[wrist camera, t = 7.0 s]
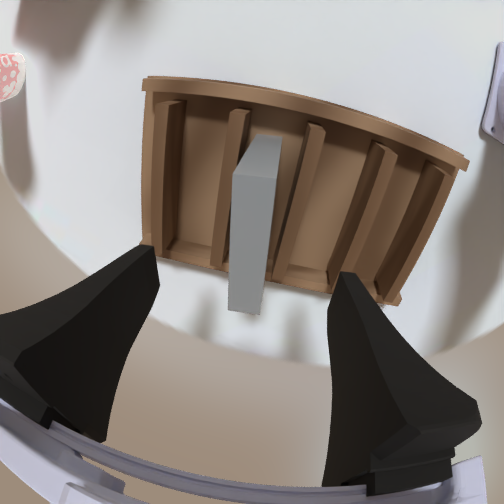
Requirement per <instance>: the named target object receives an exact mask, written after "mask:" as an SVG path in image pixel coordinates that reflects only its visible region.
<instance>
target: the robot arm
mask: <svg viewBox="0 0 504 504" xmlns="http://www.w3.org/2000/svg"><path fill="white" fill-rule="evenodd" d="M492 127H493V131H492V132H491V128H492ZM482 129H483V130H484V131H485V132H486V133H487V134H489V135H491V136H492V137H494V138H495V139H497V140H498V141H499V142H501V143H502V144H504V42H499V44H498V50H497V57H496V64H495V70H494V75H493V80H492V85H491V90H490V95H489V99H488V103H487V107H486V111H485V115H484V119H483V122H482ZM159 287H160V282H159V276H158V270H157V263H156V256H155V249H154V246H151V245H144V244H140V245H138V246H136V247H134V248H133V249H131V250H130V251H128V252H126V253H125V254H123V255H122V256H120V257H119V258H117V259H116V260H114V261H113V262H111V263H110V264H108V265H107V266H105V267H104V268H102V269H100V270H99V271H97V272H96V273H94V274H92V275H91V276H89V277H88V278H86V279H84V280H83V281H81V282H79V283H78V284H76V285H74V286H72V287H70V288H68V289H66V290H65V291H63V292H61V293H59V294H57V295H54V296H52V297H50V298H48V299H45V300H43V301H41V302H38V303H36V304H33V305H31V306H28V307H25V308H22V309H19V310H16V311H13V312H9V313H5V314H1V315H0V460H1V461H2V462H3V463H4V464H5V465H6V466H7V467H8V468H9V469H10V470H11V471H12V472H13V473H14V474H16V475H17V476H18V477H19V478H20V479H21V480H22V481H24V482H25V483H26V484H27V485H28V486H30V487H31V488H32V489H33V490H35V491H36V492H37V493H38V494H40V495H41V496H42V497H44V498H45V499H46V500H48V501H49V502H50V504H149V503H146V502H143V501H140V500H137V499H135V498H132V497H129V496H127V495H124V494H123V490H124V487H125V482H124V481H122V480H120V479H118V478H116V477H114V476H112V475H110V474H108V473H107V472H105V471H104V470H102V469H100V468H98V467H96V466H94V465H92V464H90V463H88V462H86V461H84V460H83V458H82V456H81V455H83V456H85V457H87V458H89V459H91V460H93V461H96V462H98V463H100V464H102V465H104V466H107V467H109V468H112V469H114V470H116V471H119V472H122V473H124V474H127V475H130V476H132V477H135V478H138V479H141V480H144V481H147V482H150V483H153V484H156V485H160V486H163V487H167V488H170V489H174V490H178V491H181V492H186V493H190V494H194V495H198V496H203V497H208V498H214V499H219V500H225V501H231V502H238V503H246V504H487V496H486V485H485V476H484V469H483V462H482V456H476V457H473V458H470V459H467V460H464V461H461V462H458V463H456V464H453V465H451V458H453V457H455V449H454V447H456V446H457V445H459V444H460V443H462V442H463V441H465V440H466V439H468V438H469V437H471V436H472V435H473V434H474V433H476V432H477V431H478V430H479V428H480V427H481V424H482V421H481V417H480V413H479V409H478V405H477V401H476V400H475V399H473V398H472V397H470V396H469V395H467V394H466V393H465V392H463V391H462V390H460V389H459V388H456V386H454V385H453V384H452V383H451V382H449V381H448V380H447V379H445V378H444V377H443V376H442V375H441V374H439V373H438V372H437V371H436V370H435V369H434V368H433V367H431V366H430V365H429V364H428V363H427V362H426V361H425V360H424V359H423V358H422V357H421V356H420V355H419V354H418V353H417V352H416V351H415V350H414V349H413V348H412V347H411V346H410V345H409V343H408V342H407V341H406V340H405V339H404V338H403V337H402V336H401V334H400V333H399V332H398V331H397V330H396V328H395V327H394V326H393V325H392V323H391V322H390V321H389V319H388V318H387V317H386V316H385V314H384V313H383V311H382V310H381V309H380V307H379V306H378V305H377V303H376V302H375V300H374V299H373V298H372V296H371V295H370V293H369V292H368V290H367V289H366V287H365V286H364V284H363V283H362V282H361V280H360V279H359V277H358V276H357V275H356V273H352V272H344V271H340V273H339V276H338V279H337V283H336V286H335V289H334V292H333V295H332V298H331V301H330V304H329V306H328V309H327V336H328V346H329V355H330V365H331V376H332V412H331V425H330V436H329V444H328V452H327V459H326V465H325V470H324V476H323V481H322V487H288V486H287V487H286V486H271V485H261V484H252V483H243V482H236V481H230V480H224V479H218V478H212V477H207V476H202V475H198V474H193V473H189V472H185V471H181V470H177V469H173V468H169V467H166V466H162V465H159V464H155V463H152V462H149V461H146V460H143V459H140V458H137V457H134V456H131V455H129V454H126V453H123V452H120V451H117V450H115V449H113V448H110V447H108V446H105V445H103V444H101V443H102V442H104V441H105V440H106V437H107V429H108V424H109V419H110V413H111V409H112V405H113V401H114V396H115V392H116V389H117V386H118V382H119V379H120V376H121V373H122V370H123V367H124V364H125V361H126V358H127V356H128V354H129V351H130V349H131V347H132V345H133V343H134V341H135V339H136V337H137V335H138V333H139V331H140V329H141V327H142V325H143V324H144V322H145V320H146V318H147V316H148V314H149V312H150V310H151V308H152V306H153V303H154V301H155V298H156V295H157V293H158V290H159ZM80 454H81V455H80Z"/></svg>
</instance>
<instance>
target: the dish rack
mask: <svg viewBox="0 0 504 504" xmlns="http://www.w3.org/2000/svg"><path fill="white" fill-rule="evenodd" d="M142 91H146V97H145V109H144V122H143V140H142V171H141V205H142V237H143V239H142V241H141V242H140V243H139V245H140V244H144V245H151V246H154V249H155V256H159V257H163V258H167V259H172V260H176V261H180V262H185V263H189V264H193V265H198V266H202V267H206V268H211V269H215V270H220V271H224V272H229V251H230V223H231V199H232V177H233V172H234V171H235V169H236V167H237V166H238V164H239V162H240V161H241V159H242V157H243V156H244V154H245V152H246V151H247V149H248V147H249V146H250V144H251V142H252V141H253V139H254V138H255V136H256V134H264V135H273V136H281V137H283V138H282V147H281V156H280V165H279V173H278V182H277V191H276V199H275V208H274V216H273V224H272V232H271V240H270V247H269V254H268V261H267V268H266V275H265V280H266V281H270V282H275V283H280V284H285V285H290V286H294V287H299V288H304V289H309V290H314V291H319V292H324V293H329V294H333V292H334V289H335V286H336V283H337V279H338V276H339V273H340V271H344V272H352V273H356V275H357V276H358V277H359V279H360V280H361V282H362V283H363V284H364V286H365V287H366V289H367V290H368V292H369V293H370V295H371V296H372V298H373V299H374V300H375V302H376V303H382V304H387V305H393V306H398V305H399V304H400V302H401V300H402V297H401V295H400V290H401V289H402V287H403V285H404V283H405V282H406V280H407V278H408V276H409V275H410V273H411V271H412V269H413V268H414V266H415V264H416V262H417V260H418V258H419V257H420V255H421V253H422V251H423V249H424V247H425V245H426V243H427V241H428V239H429V237H430V235H431V233H432V231H433V229H434V227H435V225H436V223H437V220H438V218H439V216H440V214H441V212H442V209H443V207H444V205H445V203H446V200H447V198H448V196H449V193H450V191H451V188H452V186H453V183H454V181H455V178H456V176H457V173H458V170H459V169H461V170H463V171H465V172H466V170H467V168H468V165H469V162H470V161H469V160H467V159H466V158H464V155H462V154H461V153H459V152H457V151H455V150H453V149H451V148H449V147H447V146H445V145H443V144H441V143H439V142H436V141H434V140H432V139H430V138H428V137H425V136H423V135H421V134H419V133H416V132H414V131H412V130H409V129H407V128H404V127H402V126H399V125H397V124H394V123H391V122H389V121H386V120H383V119H381V118H378V117H375V116H372V115H369V114H366V113H363V112H360V111H357V110H354V109H351V108H348V107H344V106H341V105H338V104H334V103H331V102H327V101H323V100H320V99H316V98H312V97H308V96H304V95H299V94H295V93H291V92H286V91H281V90H276V89H271V88H266V87H260V86H254V85H248V84H241V83H234V82H227V81H219V80H209V79H199V78H186V77H167V76H148V78H145V79H143V83H142Z"/></svg>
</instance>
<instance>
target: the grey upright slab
mask: <svg viewBox="0 0 504 504" xmlns="http://www.w3.org/2000/svg"><path fill="white" fill-rule="evenodd" d="M282 138H283V137H281V136H273V135H264V134H256V136H255V138H254V139H253V141H252V142H251V144H250V146H249V147H248V149H247V151H246V152H245V154H244V156H243V157H242V159H241V161H240V162H239V164H238V166H237V167H236V169H235V171H234V172H233V177H232V199H231V223H230V251H229V285H228V310H230V311H237V312H243V313H250V314H258V315H260V310H261V303H262V296H263V289H264V282H265V275H266V268H267V261H268V254H269V247H270V240H271V232H272V224H273V216H274V208H275V199H276V191H277V182H278V173H279V165H280V156H281V147H282Z"/></svg>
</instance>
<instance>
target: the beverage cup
mask: <svg viewBox="0 0 504 504" xmlns="http://www.w3.org/2000/svg"><path fill="white" fill-rule="evenodd" d="M25 75H26V62H25V60H24V57H23V56H22V55H21V54H20V53H10V54H0V102H2V101H5V100H7V99H10V98H12V97H14V96H16V95H17V94H18V93H19V91H20V90H21V88H22V86H23V83H24V81H25Z"/></svg>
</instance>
